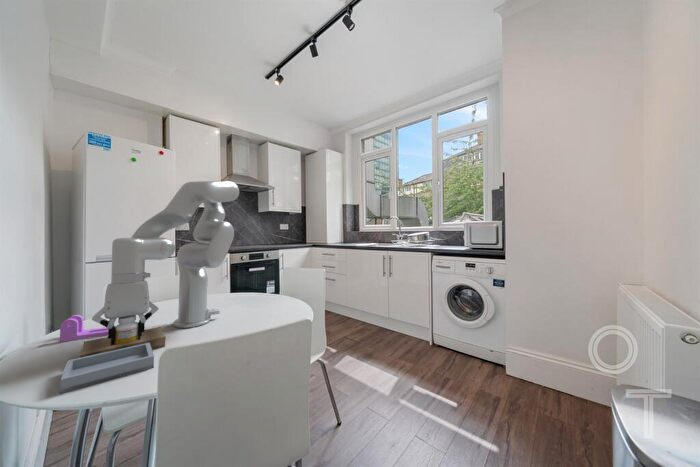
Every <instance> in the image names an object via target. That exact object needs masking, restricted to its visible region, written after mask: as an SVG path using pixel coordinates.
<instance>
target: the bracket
mask: <svg viewBox="0 0 700 467" xmlns="http://www.w3.org/2000/svg"><path fill="white" fill-rule="evenodd" d="M105 336H106V337H107V336H108V328H107V327H105V326H103V327H98V328H89V329H84V317H83V316H82V315H81V314H73V315H71V316H70V317H68V318H67V319H65V320H64V321H62V323H61V324H60V326H59V343H63V342H71V341H77V340H83V339H91V338H97V337H98V338H99V337H105Z"/></svg>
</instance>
